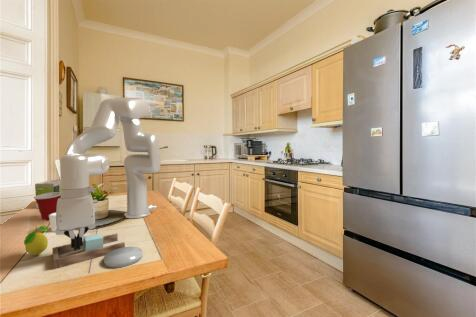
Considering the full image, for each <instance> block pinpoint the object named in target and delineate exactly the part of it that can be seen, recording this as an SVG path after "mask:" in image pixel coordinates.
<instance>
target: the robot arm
mask: <svg viewBox="0 0 476 317" xmlns="http://www.w3.org/2000/svg"><path fill="white" fill-rule="evenodd" d="M149 112H150V105H149V102H148V100H147V99H145V98H143V97H114V98H107V99H106V98H105V99H104V100H102V101H101V102H100V104H99V106H98V108H97V111H96V113H95V116H94V118H93V120H92V124H91V125H90V127H89V128H87V129H86V130H85V131H83V132H81V134H79V135H78V136H76V137H75V138H73V140H72V141H71V142H70V143H69V145H68V147H67V149H66V150H65V153H64V155H63V156H61V157H60V160H59V173H60V180H61V198H59V199H58V201H57V208H56V226H57V228H56V232H54V233H55V235H57V236H66V237H68V238H70V244H71V248H74V251H73V252H76V250H77V249H78V250H77V251H81V250H80V246H83V236H85V234H86V233H87V232H88V231H90V230H92V229H93V230H94V229H95V228H96V227H97V225H96V214H95V205H94V200H93V196H92V195H91V194H92V193H95V191H96V190H95V187H90V176H100V175H103V174H106V173H107V172H108V170H109V169H110V166H111V165H110V159H109V158H108V157H107V156H106V155H104V154H101V153H86V152H87V151H89V149H91V148H92V147H94V146H97V145H99V144H102V143H104V142H107V141H109V140H111V139H113V138H114V137H115V136H116V133H117V130H118V127H119V124H121V125H122V133H123V139H124V147H125V149H126V150H127V151H128V152H131V153H133V154H129V155H127V156H125V158H124V161H123V166H124V172H125V175H126V176H125V177H126V210H127V211H125V213H124V214H123V216H124V215H125V216H126V217H125V218H126V219H140V218H145V217H148V216H149V215H151V210H156V209H157V205H156V204H154V205H152V204H148V186H147V184H148V181H147V179H146V176H145V175H144V174H147V173H148V174H154V173H155V174H156V173H158V172H160V170H161V153H160V151H161V150H160V144H159V142H160V141H159V139H158V136H157V135H156V134H155V133H151V132H150V133H149V132H146V133H145V132H143V129H142V128H143V127H142V122H141V121H140V119H141V118H142V119H143V118H145V117H146V116H148V114H149ZM138 153H139V154H138ZM140 153H141V154H140ZM144 153H147V154H144ZM77 229H78V233H77V235H76V234H75V231H74V230H77Z"/></svg>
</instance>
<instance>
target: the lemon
mask: <svg viewBox="0 0 476 317" xmlns="http://www.w3.org/2000/svg"><path fill="white" fill-rule="evenodd" d="M38 230H39V231H42V233H41V232H38ZM47 231H48V228H47V227H46V225H40V226H38V227H37V226H35V230H34V231H32V232H30V233H28V234H27V235H26V236H25V238H24V241H23V244H24V247H25V251H26V252H27V253H28V254H30V255H35V256H38V255H40V254H41V253H43V252H44V251H45V250H46V249H47V248H48V244H49V243H48V237H47V236H46V235H45V234H44V233H43V232H47Z"/></svg>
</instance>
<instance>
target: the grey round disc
mask: <svg viewBox="0 0 476 317" xmlns="http://www.w3.org/2000/svg"><path fill="white" fill-rule="evenodd" d="M142 258H143V250H142V248H141V247H138V246H125V247H123V248H118V249H115V250H113V251H111V252H109V253H107V254H106V255H104V257H103V265H104V266H105V267H107V268H112V269H119V268H120V269H121V268H126V267H129V266H132V265H134V264H136V263H138V262H139V261H141V259H142Z"/></svg>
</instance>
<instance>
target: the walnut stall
mask: <svg viewBox="0 0 476 317" xmlns="http://www.w3.org/2000/svg"><path fill="white" fill-rule="evenodd" d="M102 237H103V245H105V246H103V247H102V248H98V249H94V250H90V251H86V252H83V251H82V252H78V253H75V254H71V255H66V256H63V257H60V255H64V254H69V253H73V252H76V251H81V250H83V246H80V250H78V249H77V250H76V251H74V248H71V243H68V244H63V245H60V246H54V247H52V261H53V269H54V270H56V269H60V268H62V267H67V266H71V265H74V264H79V263H81V262H85V261H90V260H92V259H96V258H100V257H103V256H105V255H106V254H107V253H109V252H111V251H113V250H115V249H118V248H123V247H126V245H125V244H126V242H125V241H123V242H118V243H114V242H117V241H119V240H118V233H112V234H108V235H104V236H103V235H102ZM110 243H114V244H110ZM106 244H110V245H107V246H106Z"/></svg>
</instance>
